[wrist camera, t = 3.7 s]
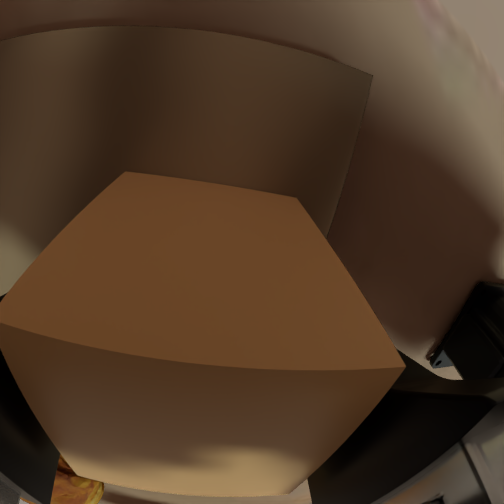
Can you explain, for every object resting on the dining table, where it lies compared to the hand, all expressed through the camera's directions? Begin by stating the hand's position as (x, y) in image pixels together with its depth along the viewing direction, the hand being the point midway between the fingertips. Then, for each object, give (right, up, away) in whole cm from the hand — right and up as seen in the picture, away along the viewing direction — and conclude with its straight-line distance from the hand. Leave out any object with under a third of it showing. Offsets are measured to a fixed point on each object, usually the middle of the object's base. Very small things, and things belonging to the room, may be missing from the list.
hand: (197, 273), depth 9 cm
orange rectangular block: (0, 0, +1) cm, 1 cm away
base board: (-5, -1, +2) cm, 5 cm away
